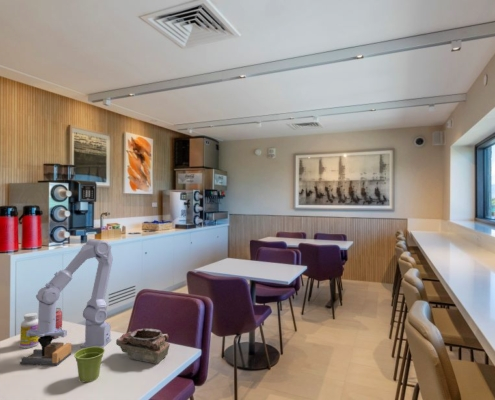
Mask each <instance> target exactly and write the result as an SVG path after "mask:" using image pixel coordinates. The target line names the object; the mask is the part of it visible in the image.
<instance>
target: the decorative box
mask: <svg viewBox="0 0 495 400" xmlns="http://www.w3.org/2000/svg"><path fill="white" fill-rule="evenodd" d="M167 340H169V335H168V333H163V332H162V331H161V330H160V329H156V328H155V329H154V328H140V329H139V328H137V329H135V330H134V331H128V332H127V333H123V334H122V335H121V336H120V337H118V338H117V339H116V340H115V341H116V342H115V345H116V346H119V348H120V350H121V352H122V353H123V354H124V353H125V354H127V356H128V357H129V358H130V359H131V360H137V361H141V362H146V363H152V364H159V363H160V362H162V361H163V359H164V358H165V357H166V356H168V353H169V349H170V345H171V344H170V343H168V342H167Z"/></svg>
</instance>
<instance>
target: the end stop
mask: <svg viewBox="0 0 495 400" xmlns="http://www.w3.org/2000/svg"><path fill="white" fill-rule="evenodd" d="M69 353H71V354H72V343H71V342H66V343H65V344H64V345H63V346H62V347H61V348H59V349H58V350H56V351H55V352H54V353H52V363H58V362H59V361H60V360H62V359H63V358H64V357H66V356H67V355H68V354H69ZM59 358H60V359H59Z"/></svg>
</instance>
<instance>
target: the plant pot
mask: <svg viewBox="0 0 495 400" xmlns="http://www.w3.org/2000/svg"><path fill="white" fill-rule="evenodd" d="M105 352H106V349H105V348H104V347H83V348H81V349H79V350H77V351H76V352H75V353H74V354H73V355H74V356H73V357H74V359H75V361H76V365H77V374H78V380H79V382H81V383H83V382H86V383H91V382H94V381H95V380H97V379H98V377H100V372H101V365H102V359H103V357H104V354H105Z"/></svg>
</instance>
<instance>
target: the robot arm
mask: <svg viewBox="0 0 495 400" xmlns="http://www.w3.org/2000/svg"><path fill="white" fill-rule="evenodd" d="M93 258H94V259H96V260H97V262H98V264H97V268H96V273H95V276H94V277H95V278H94V283H93V288H92V292H91V298H90V299H89V300H88V301H87V302H86V305H85V307H84V309H83V310H82V317H83V318H84V320H85V325H84V327H85V329H84V332H85V333H84V335H85V337H84V342H83V343H82V344H81V345H80V347H81V348H88V347H102V348H104V347H105V346H106V345H107V344H109V343H110V342H111V341H112V339H111V326H112V325H111V323H110V322H106V320H107V318H108V310H107V307H108V305H107V303H106V301H105V300H106V294H107V289H108V285H109V280H110V277H111V276H110V274H111V271H112V265H113V260H114V258H113V254H112V246H111V245H110V244H109V243H108V241H106V240H100V239H95V238H94V239H93V238H91V239H89V240H87V241H86V242H85V244H84V245H82V247H81V248H80V250H79V251H78V253H77V254H76V255H75V257H74V258H73V259H72V260H71V261H70V263H69V264H68V265H67V266H66V268H65V269H62V270H59V271H58V272H57V271H56V272H55V273H54V276H53V277H52V278H51V280H50V281H49V282H47V283H46V284H45V285H44V286H43V287H41V288H40V289H39V290H38V291H37V294H36V295H35V298H36V299H37V301H38V312H37V319H38V329H30V330H28V331H27V333H26V336H38V337H39V339H38V342H39V344H40V346H41V349H42V356H45V347H46V346H48V345H49V344H51V343H52V341H53V338H54V336H59V337H61V338H65V337H66V336H68V334H67V333H68V330H66V329H62V330H61V329H56V308H57V301H58V300H59V298H60V293H62V291H63V290H64V289H65V288H66V287H67V286H68V285H69V284H70V282H71V281H72V279H73V274H75V272H76V271H77V270H78V269H79V268H80V267H81V266H82V265H83V264H84V263H85V262H86V261H87V260H89V259H93Z"/></svg>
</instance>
